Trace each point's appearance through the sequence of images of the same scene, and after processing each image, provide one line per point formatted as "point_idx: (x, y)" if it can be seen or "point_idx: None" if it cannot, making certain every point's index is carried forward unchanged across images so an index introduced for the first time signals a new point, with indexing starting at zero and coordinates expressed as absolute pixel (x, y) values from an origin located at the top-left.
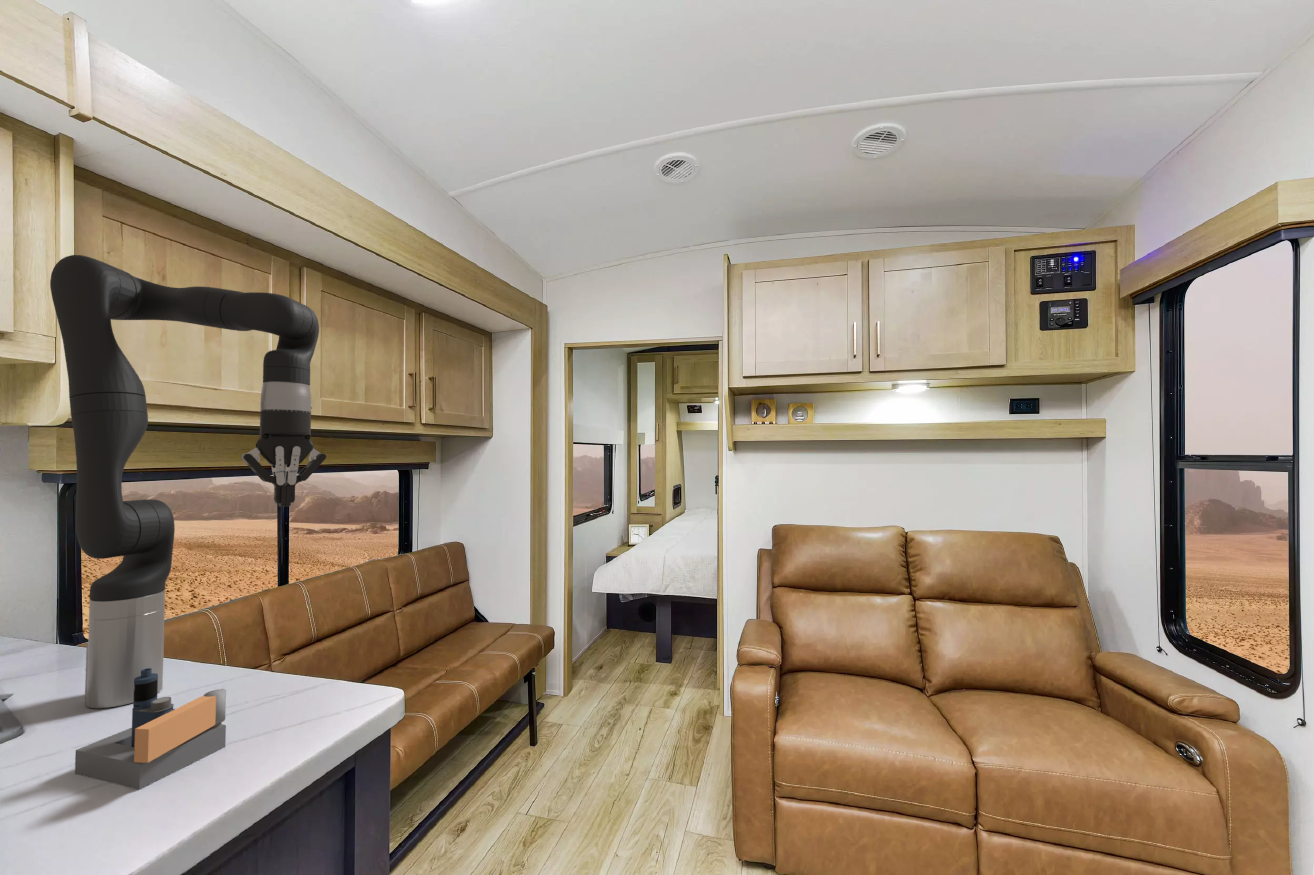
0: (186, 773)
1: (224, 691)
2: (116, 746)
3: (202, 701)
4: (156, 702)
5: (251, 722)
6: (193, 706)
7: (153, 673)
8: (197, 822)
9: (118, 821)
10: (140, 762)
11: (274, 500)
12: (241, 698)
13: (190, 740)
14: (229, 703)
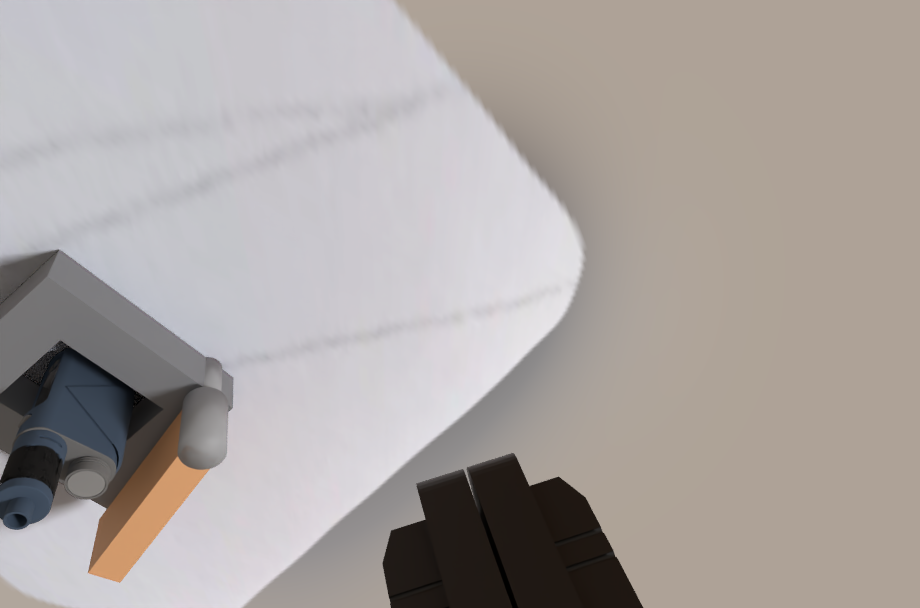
0: None
1: (224, 452)
2: (11, 419)
3: (187, 491)
4: (80, 494)
5: (266, 275)
6: (175, 510)
7: (31, 489)
8: (249, 584)
9: None
10: (106, 502)
11: (387, 575)
12: (203, 76)
13: None
14: (175, 101)
